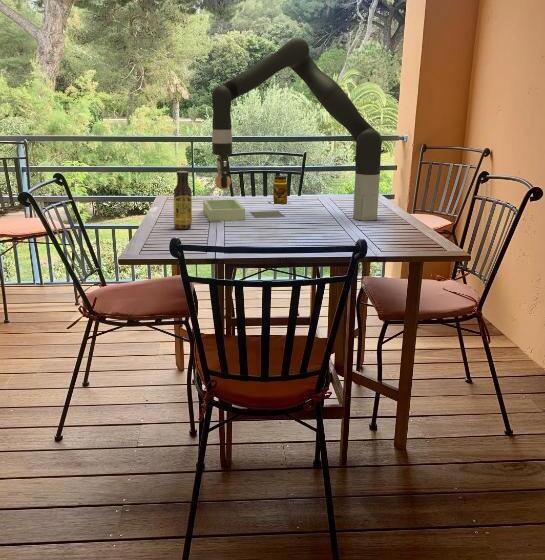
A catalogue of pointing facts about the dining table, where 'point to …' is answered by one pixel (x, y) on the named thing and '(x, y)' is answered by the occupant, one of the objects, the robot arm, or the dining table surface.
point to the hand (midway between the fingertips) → (223, 186)
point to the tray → (223, 210)
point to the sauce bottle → (182, 202)
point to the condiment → (280, 190)
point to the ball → (218, 182)
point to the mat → (267, 214)
